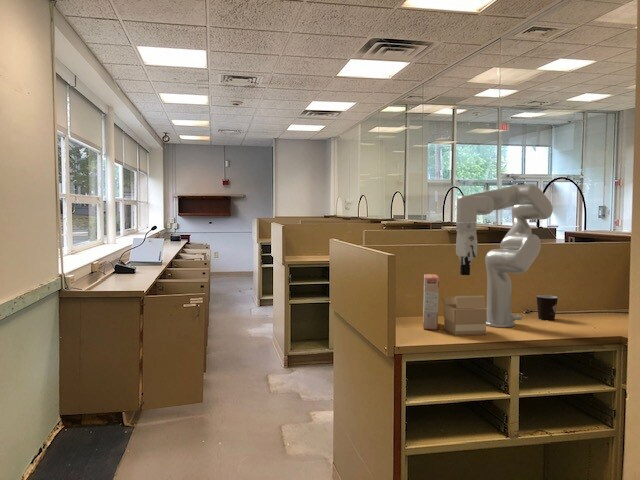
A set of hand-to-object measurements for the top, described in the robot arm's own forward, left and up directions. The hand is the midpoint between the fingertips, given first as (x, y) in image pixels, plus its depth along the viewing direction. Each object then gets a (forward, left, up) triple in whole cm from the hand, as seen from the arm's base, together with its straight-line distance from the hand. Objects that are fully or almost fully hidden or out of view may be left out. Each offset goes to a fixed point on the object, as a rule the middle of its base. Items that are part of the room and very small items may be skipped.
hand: (465, 274), depth 190 cm
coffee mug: (-48, -20, -23) cm, 57 cm away
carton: (0, 0, -22) cm, 22 cm away
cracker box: (+9, -12, -23) cm, 27 cm away
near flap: (0, +5, -10) cm, 11 cm away
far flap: (0, -8, -11) cm, 14 cm away
